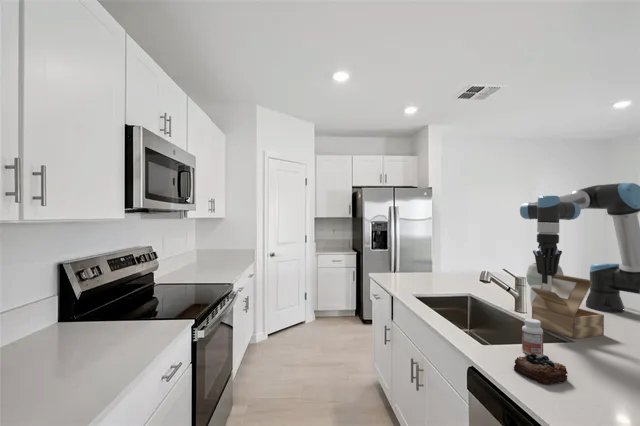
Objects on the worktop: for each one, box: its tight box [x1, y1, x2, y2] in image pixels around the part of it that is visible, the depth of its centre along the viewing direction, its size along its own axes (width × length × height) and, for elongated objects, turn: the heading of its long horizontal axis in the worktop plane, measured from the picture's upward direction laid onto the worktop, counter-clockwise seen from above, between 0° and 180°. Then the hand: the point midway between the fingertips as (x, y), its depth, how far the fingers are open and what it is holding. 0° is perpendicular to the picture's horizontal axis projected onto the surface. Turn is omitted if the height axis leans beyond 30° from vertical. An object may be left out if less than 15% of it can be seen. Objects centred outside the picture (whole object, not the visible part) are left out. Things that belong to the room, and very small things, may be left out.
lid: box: [530, 274, 592, 317], centre depth 137 cm, size 16×18×9 cm
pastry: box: [513, 353, 569, 386], centre depth 99 cm, size 11×12×6 cm
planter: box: [525, 262, 564, 287], centre depth 172 cm, size 16×16×22 cm
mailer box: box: [531, 306, 605, 340], centre depth 139 cm, size 16×18×8 cm
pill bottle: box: [521, 318, 544, 356], centre depth 115 cm, size 6×6×11 cm
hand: (546, 291), depth 136 cm, fingers closed
